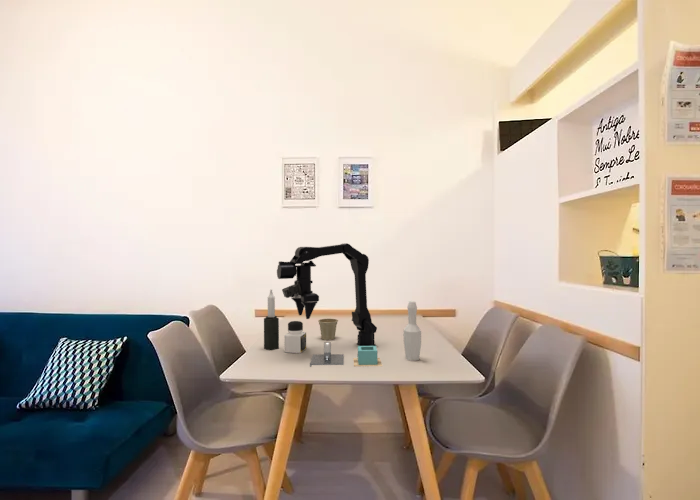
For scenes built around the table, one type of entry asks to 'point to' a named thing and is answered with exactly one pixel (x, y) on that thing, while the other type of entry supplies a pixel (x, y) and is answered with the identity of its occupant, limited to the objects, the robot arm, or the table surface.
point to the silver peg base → (327, 357)
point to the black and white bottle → (271, 326)
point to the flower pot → (328, 328)
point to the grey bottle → (412, 334)
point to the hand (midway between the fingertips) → (303, 317)
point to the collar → (367, 355)
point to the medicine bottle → (295, 338)
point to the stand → (366, 365)
